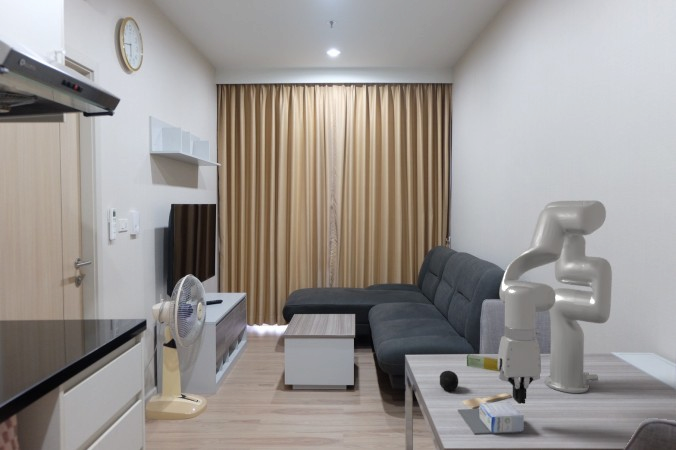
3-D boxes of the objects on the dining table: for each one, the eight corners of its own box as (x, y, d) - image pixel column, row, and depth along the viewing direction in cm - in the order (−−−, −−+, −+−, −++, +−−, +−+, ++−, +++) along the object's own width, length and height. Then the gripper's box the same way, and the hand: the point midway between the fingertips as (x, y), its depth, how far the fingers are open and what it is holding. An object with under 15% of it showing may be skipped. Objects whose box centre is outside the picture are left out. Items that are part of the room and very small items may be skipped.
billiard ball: (459, 394, 136) (459, 375, 136) (439, 393, 137) (439, 374, 137) (457, 386, 142) (457, 368, 141) (438, 385, 143) (438, 367, 143)
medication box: (466, 366, 160) (466, 356, 160) (468, 364, 162) (468, 353, 162) (500, 372, 154) (500, 361, 154) (502, 369, 156) (502, 359, 156)
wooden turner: (503, 393, 136) (503, 391, 136) (514, 399, 132) (514, 396, 132) (462, 403, 130) (462, 400, 130) (472, 409, 126) (472, 406, 126)
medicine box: (509, 417, 120) (479, 418, 119) (509, 401, 120) (478, 402, 119) (524, 431, 112) (491, 433, 111) (523, 414, 112) (491, 416, 111)
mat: (498, 409, 125) (498, 408, 125) (520, 432, 112) (520, 431, 112) (457, 410, 125) (457, 409, 125) (474, 434, 112) (474, 432, 112)
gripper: (539, 328, 119) (539, 394, 120) (486, 330, 118) (486, 396, 119) (555, 336, 112) (554, 406, 113) (498, 338, 111) (498, 408, 112)
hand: (519, 401), depth 116 cm, fingers closed
